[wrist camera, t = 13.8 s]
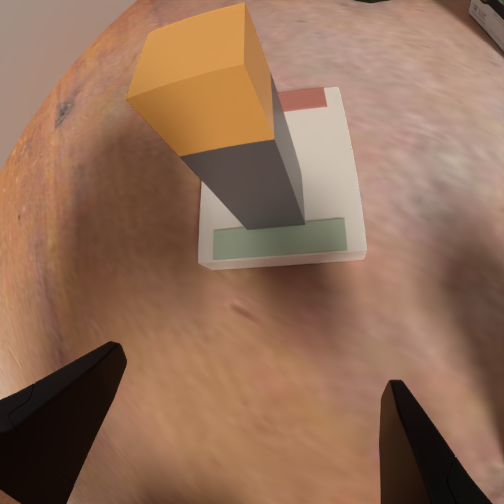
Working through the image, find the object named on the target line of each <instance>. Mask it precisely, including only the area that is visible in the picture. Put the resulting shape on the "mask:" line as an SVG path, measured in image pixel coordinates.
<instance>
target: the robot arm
mask: <svg viewBox="0 0 504 504" xmlns="http://www.w3.org/2000/svg"><path fill="white" fill-rule="evenodd" d="M126 364H127V359H126V356H125V353H124V351H123V348H122V346H121V344H120V343H117V342H113V341H110V342H107V343H106V344H104V345H102V346H100V347H98V348H97V349H95V350H93V351H91V352H90V353H88V354H86V355H84V356H82V357H81V358H79V359H77V360H75V361H73V362H72V363H70V364H68V365H66V366H64V367H63V368H61V369H59V370H57V371H55V372H54V373H52V374H50V375H48V376H46V377H45V378H43V379H41V380H39V381H37V382H36V383H35V384H32V385H30V386H28V387H26V388H24V389H23V390H21V391H19V392H17V393H15V394H12V395H10V396H8V397H6V398H3V399H1V400H0V504H67V501H68V499H69V496H70V494H71V492H72V489H73V487H74V484H75V482H76V480H77V477H78V475H79V473H80V470H81V468H82V466H83V464H84V461H85V459H86V457H87V455H88V453H89V450H90V448H91V446H92V444H93V442H94V440H95V437H96V435H97V433H98V431H99V429H100V427H101V425H102V423H103V420H104V418H105V416H106V414H107V412H108V410H109V408H110V406H111V404H112V402H113V400H114V397H115V395H116V392H117V389H118V386H119V384H120V381H121V378H122V376H123V373H124V370H125V368H126ZM379 454H380V484H381V504H492V503H491V501H490V500H489V499H488V498H487V497H486V495H485V494H484V493H483V492H482V491H481V490H480V488H479V487H478V486H477V485H476V484H475V482H474V481H473V480H472V479H471V477H470V476H469V475H468V473H467V472H466V470H465V469H464V468H463V466H462V465H461V463H460V462H459V460H458V459H457V457H455V455H454V453H453V452H452V450H451V449H450V447H449V446H448V444H447V443H446V441H445V440H444V438H443V437H442V435H441V434H440V433H439V431H438V430H437V428H436V427H435V425H434V424H433V423H432V421H431V420H430V418H429V417H428V415H427V414H426V413H425V411H424V410H423V408H422V407H421V406H420V404H419V403H418V401H417V400H416V399H415V397H414V396H413V395H412V393H411V392H410V390H409V389H408V388H407V386H406V385H405V384H404V382H403V381H402V380H389V381H388V383H387V386H386V388H385V390H384V392H383V394H382V398H381V413H380V434H379Z"/></svg>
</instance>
